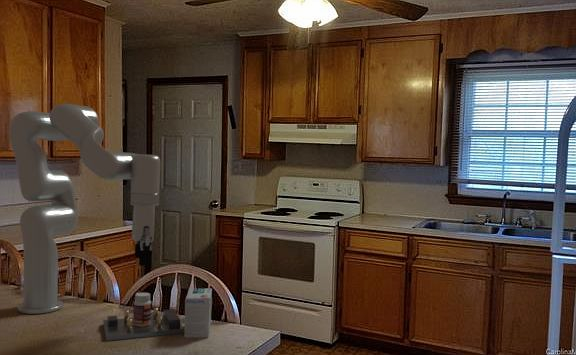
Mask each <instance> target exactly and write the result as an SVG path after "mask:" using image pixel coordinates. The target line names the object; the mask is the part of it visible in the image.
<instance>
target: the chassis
mask: <svg viewBox="0 0 576 355" xmlns="http://www.w3.org/2000/svg"><path fill="white" fill-rule="evenodd" d="M158 311H159V308H157V307H154V308H153V314H152V315H151V324H150V325H148V326H143V327H139V326H135V325H134V324H133V317H130V314H129V313H130V312H129V310H128V309H126V310H124V312H123V313H124V315H123V317H124V318H118V316H117V315H108V316H107V319H104V320H103V321H102V324H103V331H104V336H105V340H106V342H109V341H121V340H128V339H139V338H149V337H161V336H169V335H180V334H184V330H185V327H184V326H183V325H182V323H181V319H180V317H179V316H178V314H177V312H176V311H175V309H164V310H163V311H162V314H161V315H159V312H158Z"/></svg>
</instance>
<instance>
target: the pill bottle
mask: <svg viewBox="0 0 576 355" xmlns="http://www.w3.org/2000/svg"><path fill="white" fill-rule="evenodd" d="M134 300H135V301H134V302H133V314H132V315H133V317H132V318H133V324H134V325H135V326H139V327H143V326H148V325H150V324H151V316H152V300H151V293H149V292H137V293H135V295H134Z"/></svg>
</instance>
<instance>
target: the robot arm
mask: <svg viewBox="0 0 576 355" xmlns="http://www.w3.org/2000/svg"><path fill="white" fill-rule="evenodd" d="M99 123H100V119H99V116H98V114H97V112H96V111H95V110H94V109H93V108H92V107H90V106H85V105H81V104H80V105H79V104H72V103H60V104H57V105H56V106H54V107H53V108H52V109H51V110H50V112H42V111H33V110H32V111H23V112H19V113H17V114H16V115H15V116H14V117H13V118H12V120H11V121H10V124H9V129H8V138H9V143H10V145H11V149H12V152H13V153H14V157H15V158H14V159H15V164H16V170H17V176H18V182H19V189H20V192H21V195H22V197H23V199H25V201H29V202H45V201H46V202H49V201H50V202H51V204H41V205H35V206H30V207H28V208H27V209H25V210H24V211H23V212H22V213H21V215H20V219H19V224H20V225H19V226H20V232H21V236H22V243H23V281H22V282H23V291H22V292H23V295H22V300H23V302H21V303H19V304H18V305H17V311H18V312H19V313H22V314H27V315H28V314H29V315H30V314H32V315H34V314H37V315H38V314H46V313H51V312H55V311H58V310H61V309H62V308H63V307H64V306H63V305H64V302H63V301H62V300H59V299H58V294H59V293H58V290H59V289H58V285H59V284H58V283H59V280H58V278H59V277H58V276H59V273H58V272H59V260H58V259H59V253H58V252H59V251H58V246H57V244H56V242H55V240H54V239H53V237H52V236H57V235H62V234H68V233H70V232H71V233H72V232H73V231H74V230H75V229H76V228H77V225H78V223H79V212H78V206H77V199H76V193H75V188H74V187H75V186H74V183H73V180H72V179H71V176H70V175H69V174H68V173H66V172H65V171H63V170H58V169H57V170H55V169H53V170H52V169H49V165H48V160H47V155H46V153H45V151H44V150H43V148H42V146H40V144H39V143H38V141H52V142H53V141H54V142H60V141H61V142H63V141H70V142H71V143H72V144H74V146H75V147H77V148H78V153H79V157H80V160H81V162H82V164H83V165H84V166H85V167H86V168H87V169H88V170H90V171H91V172H92V173H93V174H94V175H96V176H98V177H99V178H101V179H104V180H107V181H115V180H117V181H118V180H123V181H124V180H131V183H130V205H131V206H133V212H132V224H131V225H132V228H131V238H132V240H133V241H134V242H135V244H134V258H135V259H138V265H139V266H143V267H144V266H151V265H153V264H152V263H153V262H152V260H153V259H152V258H153V256H152V255H153V250H152V242H153V241H154V236H155V222H156V220H155V218H156V217H155V214H156V212H155V210H156V209H155V208H156V207H157V206H159V205H160V183H161V159H160V157H159V156H158V155H156V154H139V153H133V152H123V151H120V152H119V151H112V152H111V151H108V150H107V149H106V148H105V147H103V146H102V145H101V144H102V142H103V140H104V136H105V133H104V130H103V128H102V127H101V126H99Z"/></svg>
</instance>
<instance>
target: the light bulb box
mask: <svg viewBox="0 0 576 355" xmlns="http://www.w3.org/2000/svg"><path fill="white" fill-rule="evenodd" d="M212 291H213V289H212V288H201V287H200V288H194V287H193V288H188V290H187V294H186V297H184V298H185V299H184V333H183V335H184V336H183V337H184V338H186V339H187V338H191V339H192V338H204V339H205V338H209V336H210V330H211V325H212V323H211V322H212V295H213V294H212V293H213V292H212Z"/></svg>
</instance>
